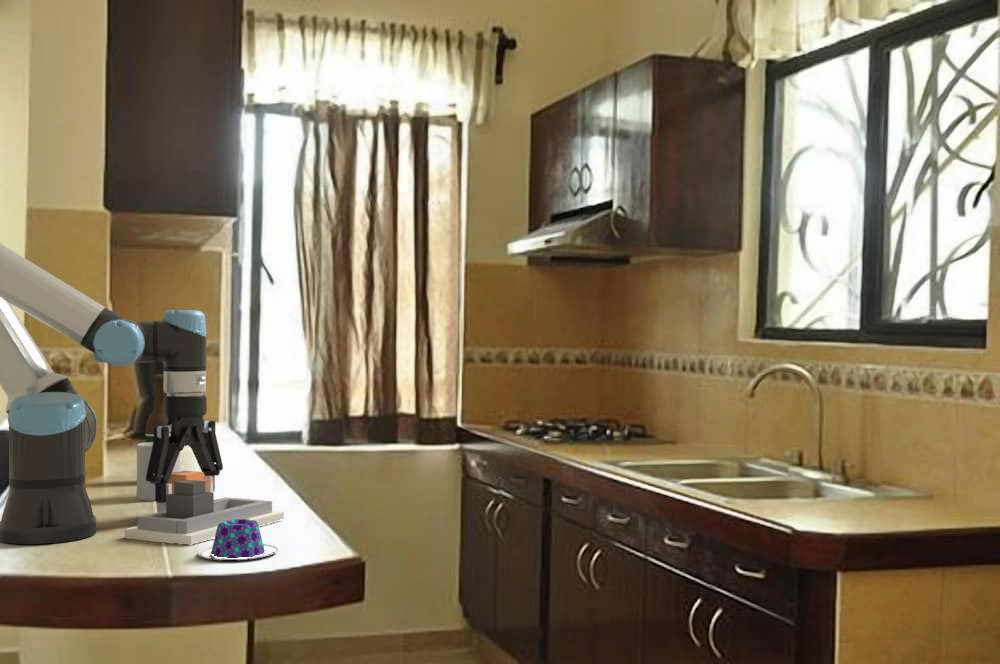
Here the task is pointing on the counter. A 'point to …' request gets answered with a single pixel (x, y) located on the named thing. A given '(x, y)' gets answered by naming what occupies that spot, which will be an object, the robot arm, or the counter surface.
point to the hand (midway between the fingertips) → (186, 515)
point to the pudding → (237, 540)
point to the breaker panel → (192, 535)
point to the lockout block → (185, 477)
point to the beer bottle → (157, 409)
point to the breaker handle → (189, 500)
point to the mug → (144, 487)
